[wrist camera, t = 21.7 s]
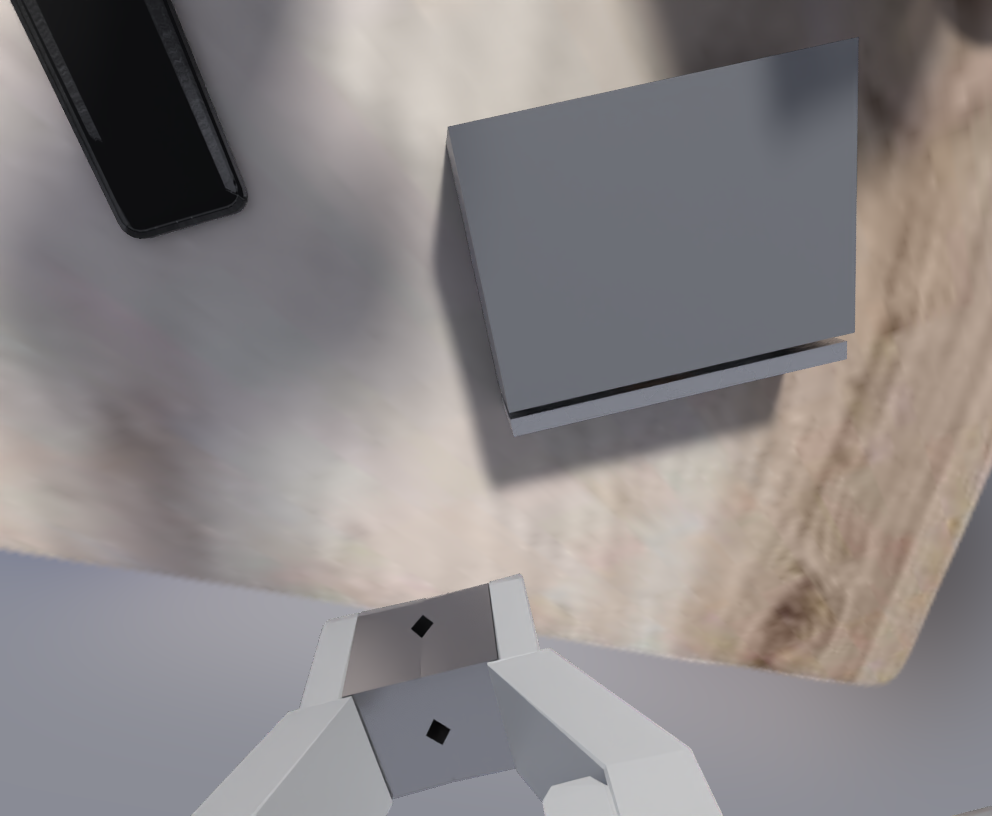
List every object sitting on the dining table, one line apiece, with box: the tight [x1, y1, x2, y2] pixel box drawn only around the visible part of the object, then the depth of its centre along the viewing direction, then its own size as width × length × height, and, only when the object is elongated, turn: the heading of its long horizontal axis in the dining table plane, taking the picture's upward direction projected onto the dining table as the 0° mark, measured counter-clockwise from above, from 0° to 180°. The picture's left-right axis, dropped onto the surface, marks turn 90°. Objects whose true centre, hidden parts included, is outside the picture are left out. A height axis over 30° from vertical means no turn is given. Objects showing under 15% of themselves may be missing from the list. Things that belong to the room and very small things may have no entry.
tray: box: [501, 337, 847, 437], centre depth 35 cm, size 16×22×6 cm
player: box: [446, 37, 859, 413], centre depth 34 cm, size 16×22×6 cm
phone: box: [11, 0, 248, 239], centre depth 32 cm, size 8×1×15 cm
